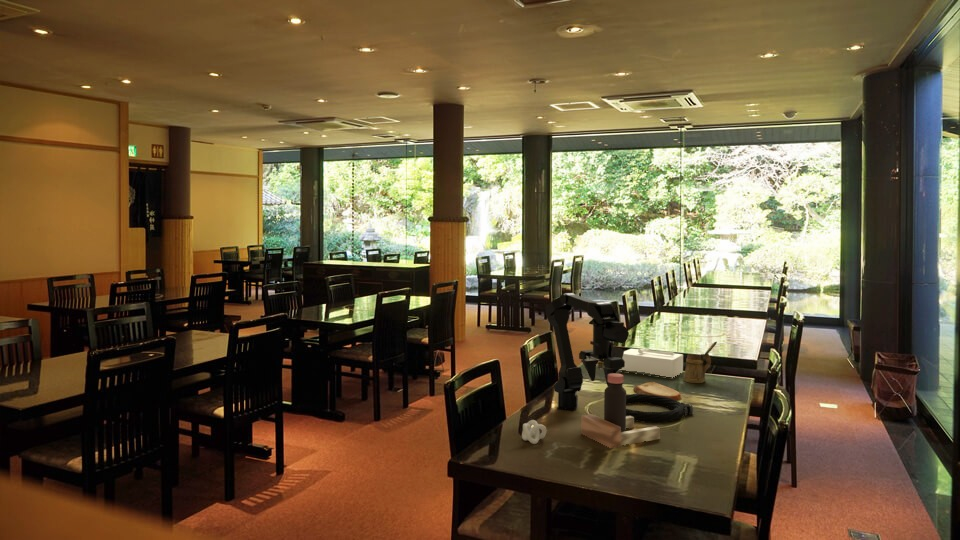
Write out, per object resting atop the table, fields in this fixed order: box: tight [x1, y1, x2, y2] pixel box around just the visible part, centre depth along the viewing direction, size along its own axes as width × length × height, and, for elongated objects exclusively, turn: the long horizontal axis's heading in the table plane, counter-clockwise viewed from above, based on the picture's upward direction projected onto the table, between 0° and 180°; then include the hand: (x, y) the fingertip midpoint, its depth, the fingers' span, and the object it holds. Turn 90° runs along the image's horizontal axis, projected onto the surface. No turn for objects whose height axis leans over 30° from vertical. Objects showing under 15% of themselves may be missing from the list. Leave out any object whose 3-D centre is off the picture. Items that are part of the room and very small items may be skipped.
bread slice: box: [633, 381, 683, 401], centre depth 253 cm, size 18×18×4 cm
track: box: [580, 413, 661, 449], centre depth 200 cm, size 20×15×6 cm
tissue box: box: [618, 347, 684, 379], centre depth 291 cm, size 14×25×11 cm, turn 55°
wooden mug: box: [682, 341, 718, 384], centre depth 272 cm, size 9×14×18 cm, turn 68°
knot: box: [521, 419, 547, 445], centre depth 196 cm, size 8×8×6 cm
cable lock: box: [626, 393, 694, 423], centre depth 228 cm, size 28×4×30 cm
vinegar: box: [603, 372, 627, 432], centre depth 199 cm, size 7×7×20 cm
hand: (600, 383), depth 216 cm, fingers open, 9 cm apart
